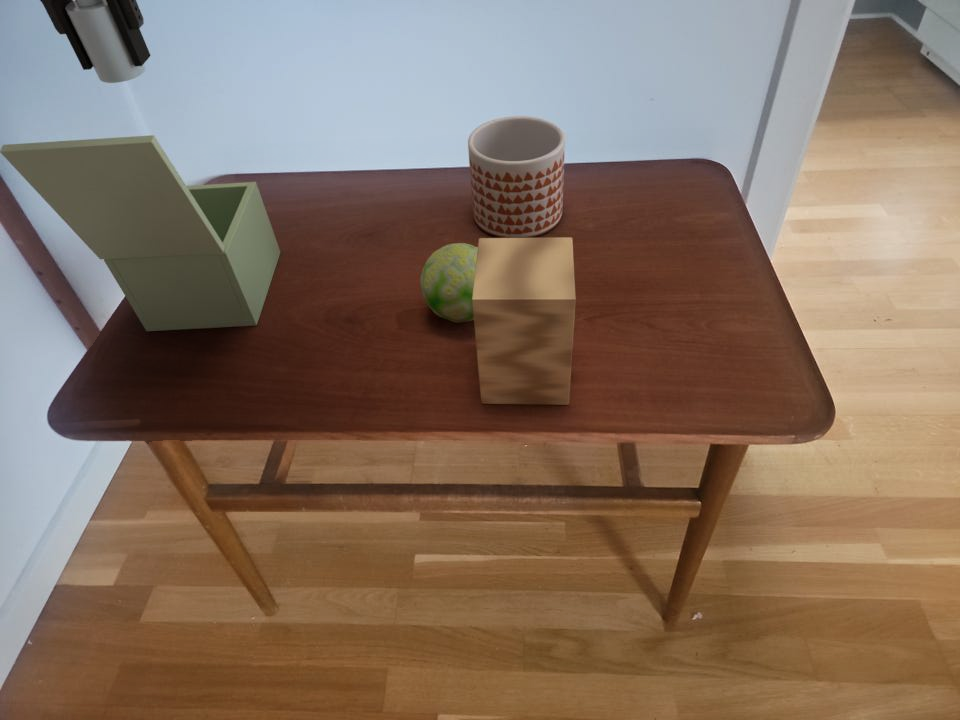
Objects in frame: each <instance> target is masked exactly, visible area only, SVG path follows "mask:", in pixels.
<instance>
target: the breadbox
mask: <svg viewBox="0 0 960 720" xmlns="http://www.w3.org/2000/svg"><path fill="white" fill-rule="evenodd" d="M186 186H187V188H188V189H189V191H190V193H191V194H192V196H193V197H194V199H195V200H196V202H197V203H198V205H199V207H200V208H201V210H202V211H203V213H204V214H205V216H206V218H207V219H208V221H209V222H210V224H211V225H212V227H213V229H214V230H215V232H216V233H217V235H218V236H219V238H220V240H221V241H222V243H223V244H224V246H225V247H224V252H221V253H203V254H186V255H168V256H151V257H133V258H116V259H103V262H104V263H105V265H106V267H107V268H108V270H109V271H110V273H111V275H112V277H113V278H114V279H115V281H116V283H117V284H118V286H119V288H120V290H121V291H122V293H123V294H124V296H125V298H126V300H127V301H128V303H129V305H130V307H131V308H132V310H133V311H134V313H135V315H136V316H137V318H138V319H139V321H140V323H141V325H142V326H143V328H144V330H145V331H146V332H159V331H160V332H161V331H178V330H179V331H180V330H199V329H215V328H216V329H217V328H233V327H234V328H235V327H237V328H238V327H254V326H258V323H259V320H260V317H261V313H262V312H263V311H262V310H263V308H264V305H265V302H266V298H267V295H268V292H269V290H270V286H271V283H272V280H273V277H274V274H275V270H276V268H277V264H278V261H279V258H280V255H281V249H280V246H279V244H278V241H277V239H276V235H275V233H274V232H275V231H274V230H273V227H272V224H271V221H270V218H269V215H268V213H267V209H266V207H265V204H264V201H263V198H262V195H261V193H260V189H259V186H258V184H257V182H256V181H246V182H231V183H229V182H228V183H212V184H195V185H186Z"/></svg>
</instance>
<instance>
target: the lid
mask: <svg viewBox="0 0 960 720" xmlns="http://www.w3.org/2000/svg"><path fill="white" fill-rule="evenodd" d="M0 154H1V155H2V156H3V157H4V158H5V159H6V160H7V161H8V162H9V164H10V165H11V166H12V167H13V168H14V169H15V170H16V171H17V172H18V174H20V176H21V177H23V179H24V180H25V181H26V182H27V183H28V184H29V185H30V186H31V187H32V188H33V190H35V191H36V193H37V194H38V195H39V196H40V197H41V198H42V199H43V200H44V201H45V203H47V204H48V205H49V206H50V208H51V209H52V210H53V211H54V212H55V213H56V214H57V215H58V216H59V218H61V219H62V221H63V222H64V223H65V224H66V225H67V226H68V227H69V228H70V229H71V230H72V231H73V232H74V233H75V234H76V235H77V237H78V238H79V239H80V240H81V241H82V242H83V243H84V244H85V245H86V246H87V247H88V248H89V249H90V250H91V251H92V252H93V254H94V255H95V256H96V257H97V258H98V259H99V260H104V259H116V258H133V257H151V256H168V255H186V254H203V253H221V252H224V247H225V246H224V244H223V243H222V241H221V240H220V238H219V236H218V235H217V233H216V232H215V230H214V229H213V227H212V225H211V224H210V222H209V221H208V219H207V218H206V216H205V214H204V213H203V211H202V210H201V208H200V207H199V205H198V203H197V202H196V200H195V199H194V197H193V196H192V194H191V193H190V191H189V189H188V188H187V186H188V185H187V184H186V183H185V181H184V179H183V178H182V177H181V175H180V173H178V170H177V168H176V167H175V165H174V164H173V163H172V161H171V160H170V158H169V156H168V155H167V153H166V152H165V150H164V149H163V147H162V146H161V144H160V142H159V141H158V139H157V138H156V136H155V135H153V134H152V135H135V136H121V137H120V136H119V137H108V138H107V137H106V138H105V137H104V138H88V139H87V138H86V139H73V140H72V139H71V140H60V141H59V140H57V141H56V140H55V141H43V142H42V141H41V142H27V143H25V142H24V143H9V144H8V143H7V144H2V146H1V148H0Z"/></svg>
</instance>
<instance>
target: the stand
mask: <svg viewBox="0 0 960 720" xmlns="http://www.w3.org/2000/svg"><path fill="white" fill-rule="evenodd" d="M573 241H574V240H573V237H571V236H570V237H565V236H562V237H561V236H560V237H557V236H556V237H532V238H500V237H479V238H478V243H477V247H478V251H477V260H476V269H475V278H474V287H473V296H472V304H473V315H474V320H473V324H474V325H473V326H474V336H475V337H474V338H475V347H476V348H475V349H476V358H477V368H478V369H477V372H478V381H479V392H480V403H481V405H482V404H483V405H547V406H558V405H559V406H568V405H570V394H571V393H570V391H571V378H572V377H571V376H572V375H571V374H572V362H573V361H572V360H573V345H574V331H575V315H576V297H577V296H576V283H575V282H576V281H575V280H576V279H575V265H574V264H575V263H574V243H573Z"/></svg>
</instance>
